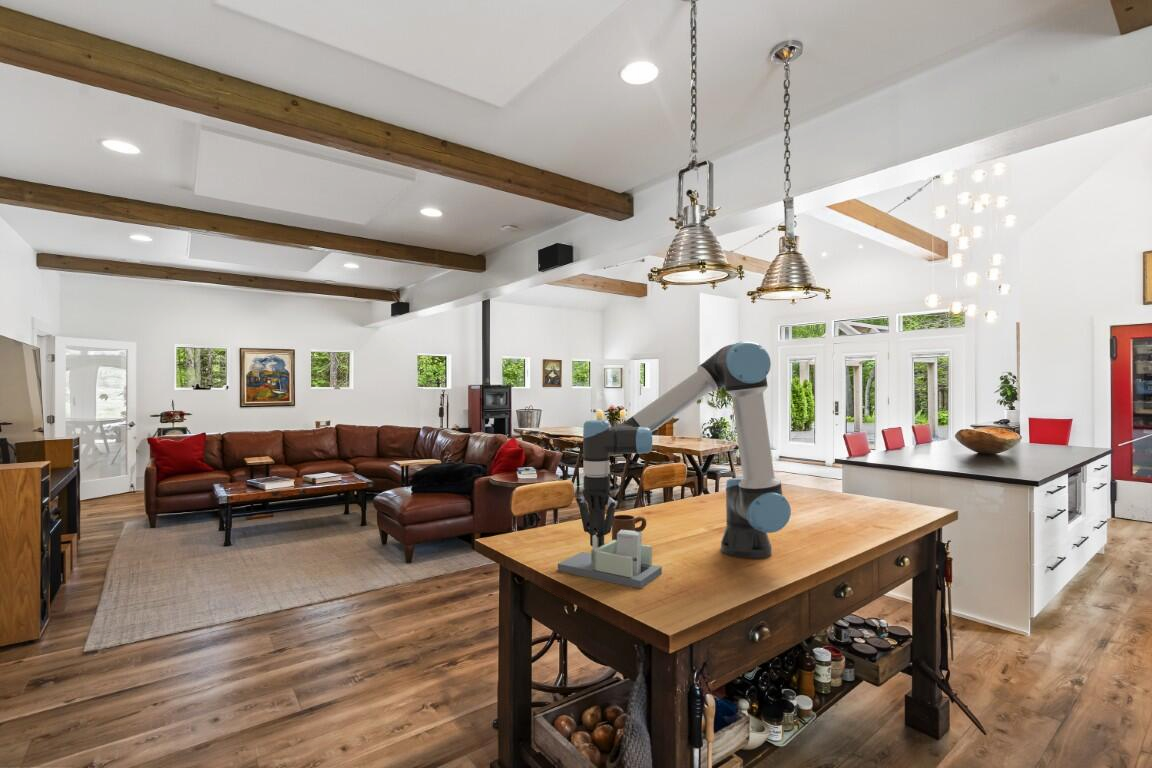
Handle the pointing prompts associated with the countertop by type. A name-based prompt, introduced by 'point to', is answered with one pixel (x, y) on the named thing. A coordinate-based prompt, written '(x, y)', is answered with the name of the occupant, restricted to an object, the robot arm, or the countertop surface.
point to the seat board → (582, 567)
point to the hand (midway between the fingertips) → (597, 558)
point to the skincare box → (630, 547)
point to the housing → (617, 559)
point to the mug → (626, 524)
